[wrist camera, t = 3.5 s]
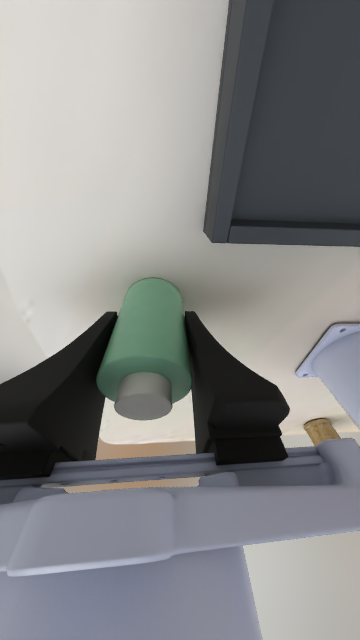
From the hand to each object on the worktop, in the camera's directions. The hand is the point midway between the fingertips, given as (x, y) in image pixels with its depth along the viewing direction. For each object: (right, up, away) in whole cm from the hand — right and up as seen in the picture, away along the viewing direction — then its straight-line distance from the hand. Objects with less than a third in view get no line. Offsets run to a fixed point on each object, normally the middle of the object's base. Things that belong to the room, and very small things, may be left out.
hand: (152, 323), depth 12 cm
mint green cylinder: (0, +2, +2) cm, 2 cm away
